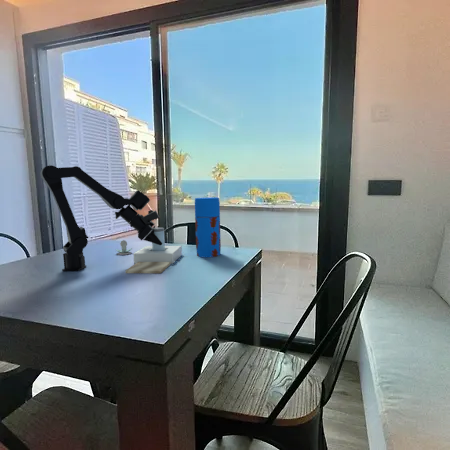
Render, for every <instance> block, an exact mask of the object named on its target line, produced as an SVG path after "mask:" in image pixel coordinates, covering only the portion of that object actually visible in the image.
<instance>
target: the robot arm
mask: <svg viewBox="0 0 450 450" xmlns="http://www.w3.org/2000/svg"><path fill="white" fill-rule="evenodd" d="M40 177H41V179H42V180H43V183H44V184H45V185H46V187H47V188H48V190H49V191H50V192H51V195H52V196H53V199H54V201H55V204H56V206H57V209H58V210H59V213H60V217H61V218H62V220H63V221H62V222H63V223H64V225H65V230H66V235H67V242H66V243H65V244H64V245H63V246H62V249H63V251H64V253H63V254H62V255H63V256H62V257H63V266H64V267H63V268H62V269H61V271H62V272H63V271H64V272H68V271H69V272H75V271H76V272H77V271H81V270H83V269H84V268H86V267H87V265H86V261H85V255H84V249H85V248H86V247H87V245H88V243H89V238H90V237H89V236H88V235H87V232H86V229H85V227H84V226H79V225H78V222H77V220H76V218H75V216H74V214H73V211H72V208H71V206H70V204H69V201H68V199H67V196H66V194H65V190H64V187H63V179H66V178H67V179H68V178H74V179H76V180H77V181H78V182H80V183H81V184H83V185H84V186H85V187H86V188H88V189H89V190H91V192H93V193H95V194H96V195H97V196H99V197H100V198H101V200H102V202H103V203H105V204H106V205H107V207H109V208H110V209H113V210H118V211H115V212H114V215H115V220H118V219H119V218H120V217H121V219H123V220H124V221H125V222H126V223H127V224H129V226H130V228H133V229H135V230H136V231H137V238H138V239H139V240H140V241H146V242H149V243H151V244H152V243H155V244H158V245H162V242H161V241H160V240H159V238H158V237H157V236H156V235H155V233H154V229H153V228H156V225H155V223H154V220H158V219H159V218H160V216H159V213H158V212H157V210H153V209H150V210H149V211H147V214H145V215H143V214H139V212H137V211H142V210H143V209H144V208H145V207H146V206H147V204H149V202H150V201H151V199H150V198H149V196H148V195H145V194H144V193H143V192H141V191H140V190H136V191H135V192H134V193H133V194H132V195H131V196H130V198H126V197H123V196H122V195H120V194H119V193H117V192H115V191H113V190H110V189H108V188H107V187H105V186H104V185H103V184H102V183H100V182H98V181H97V180H96V179H95V178H94V177H92V176H91V175H90V174H88V173H87V172H86V171H84V170H83V169H82V168H81V167H80V166H76V165H75V166H67V167H57V166H55V165H51V164H49V165H47V166H44V167H43V168H41V170H40ZM125 206H126V207H125ZM152 229H153V230H152Z"/></svg>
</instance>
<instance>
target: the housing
mask: <svg viewBox="0 0 450 450" xmlns="http://www.w3.org/2000/svg"><path fill="white" fill-rule="evenodd" d="M181 256H183V247H182V245H165V251H153V250H152V245H145V246H144V247H143V248H141V249H139V250H137V251H136V252H133V264H136V263H137V262H171V264H174V263H175V262H176V261H177V260H178V259H179V258H180V257H181Z"/></svg>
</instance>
